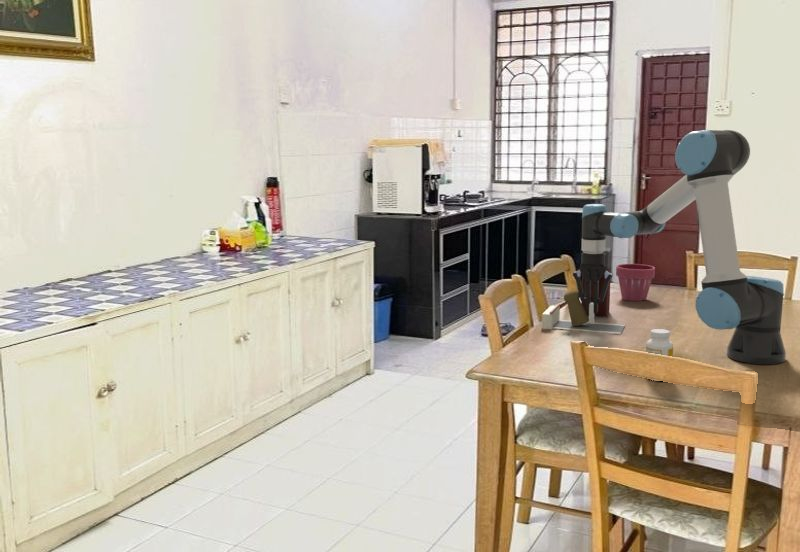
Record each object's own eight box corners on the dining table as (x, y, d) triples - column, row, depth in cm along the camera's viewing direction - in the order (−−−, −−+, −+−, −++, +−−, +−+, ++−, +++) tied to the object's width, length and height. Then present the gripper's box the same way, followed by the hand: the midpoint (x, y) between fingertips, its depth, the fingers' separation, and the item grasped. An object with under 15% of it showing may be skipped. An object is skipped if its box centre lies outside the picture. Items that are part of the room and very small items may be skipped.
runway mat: (620, 334, 251) (620, 333, 251) (551, 328, 260) (551, 327, 260) (625, 326, 262) (625, 325, 262) (558, 320, 271) (558, 319, 271)
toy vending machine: (580, 317, 276) (582, 237, 271) (584, 310, 286) (586, 233, 281) (606, 318, 273) (609, 238, 268) (609, 311, 283) (612, 234, 278)
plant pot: (657, 297, 307) (659, 265, 305) (648, 304, 295) (649, 270, 293) (621, 294, 315) (622, 262, 312) (610, 300, 303) (611, 267, 301)
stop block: (551, 329, 259) (551, 312, 258) (541, 328, 260) (542, 311, 259) (559, 320, 272) (559, 303, 271) (550, 319, 273) (551, 303, 272)
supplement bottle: (666, 374, 209) (668, 327, 207) (675, 382, 203) (678, 333, 200) (641, 375, 209) (643, 328, 207) (649, 383, 202) (652, 334, 200)
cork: (570, 327, 261) (559, 296, 260) (574, 322, 266) (563, 292, 265) (587, 323, 258) (576, 291, 257) (591, 318, 263) (580, 287, 262)
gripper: (615, 251, 257) (613, 321, 262) (575, 249, 262) (573, 318, 266) (612, 254, 251) (609, 326, 255) (571, 252, 256) (569, 323, 260)
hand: (591, 322), depth 261 cm, fingers closed
